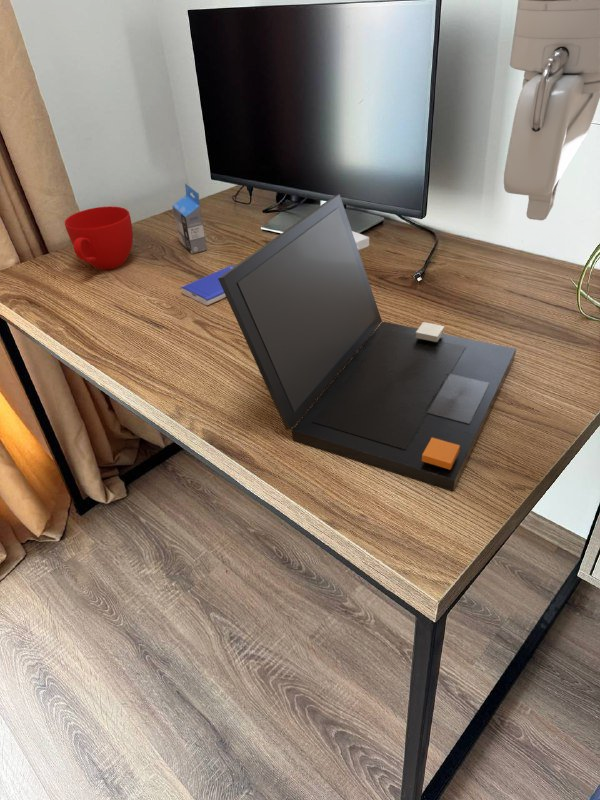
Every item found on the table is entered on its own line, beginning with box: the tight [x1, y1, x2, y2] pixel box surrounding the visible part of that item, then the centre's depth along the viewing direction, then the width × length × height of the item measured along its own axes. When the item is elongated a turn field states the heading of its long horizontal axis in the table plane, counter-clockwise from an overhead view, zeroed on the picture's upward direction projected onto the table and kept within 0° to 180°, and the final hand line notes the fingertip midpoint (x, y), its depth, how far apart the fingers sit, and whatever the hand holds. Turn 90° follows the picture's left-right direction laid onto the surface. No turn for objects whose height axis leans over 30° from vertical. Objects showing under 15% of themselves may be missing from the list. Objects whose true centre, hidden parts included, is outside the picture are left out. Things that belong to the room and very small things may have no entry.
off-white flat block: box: [415, 321, 445, 342], centre depth 89 cm, size 3×3×1 cm
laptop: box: [291, 321, 517, 492], centre depth 81 cm, size 21×30×2 cm
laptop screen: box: [218, 193, 383, 431], centre depth 80 cm, size 21×30×1 cm
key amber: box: [422, 438, 460, 470], centre depth 68 cm, size 3×3×1 cm
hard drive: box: [180, 264, 236, 306], centre depth 112 cm, size 2×8×12 cm
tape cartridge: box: [172, 183, 208, 255], centre depth 126 cm, size 9×4×12 cm, turn 28°
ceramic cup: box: [64, 205, 134, 270], centre depth 121 cm, size 13×17×10 cm
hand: (538, 214), depth 54 cm, fingers closed
